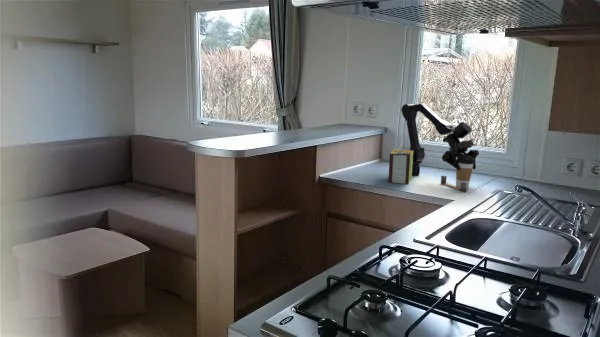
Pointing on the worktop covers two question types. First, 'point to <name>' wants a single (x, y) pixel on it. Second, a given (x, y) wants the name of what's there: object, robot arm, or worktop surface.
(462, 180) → the coffee cup
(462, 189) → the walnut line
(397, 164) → the protein box
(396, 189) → the worktop surface
